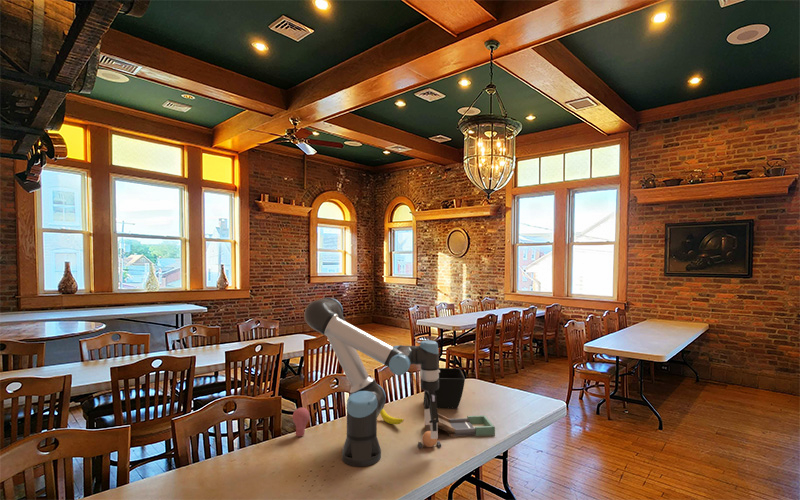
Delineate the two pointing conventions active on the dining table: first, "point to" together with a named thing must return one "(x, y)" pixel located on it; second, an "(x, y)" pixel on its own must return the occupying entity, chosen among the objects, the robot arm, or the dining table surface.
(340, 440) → the dining table surface
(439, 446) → the grey flat pieces
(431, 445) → the ball
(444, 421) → the ramp
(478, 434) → the green open tray
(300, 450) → the dining table surface
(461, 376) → the flower pot
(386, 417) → the banana
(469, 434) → the runway
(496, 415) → the dining table surface
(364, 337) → the robot arm
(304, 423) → the light bulb
